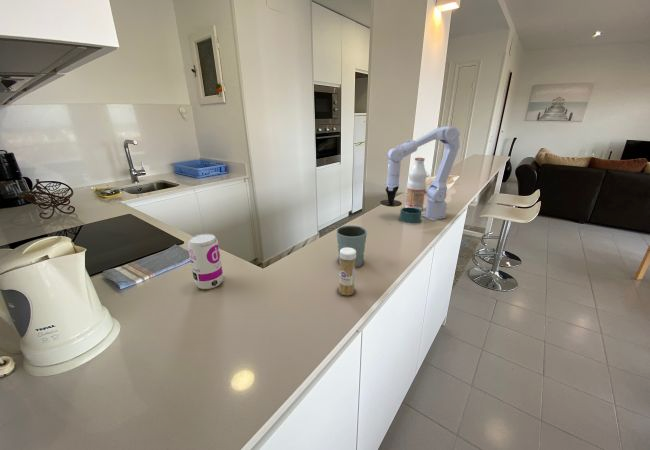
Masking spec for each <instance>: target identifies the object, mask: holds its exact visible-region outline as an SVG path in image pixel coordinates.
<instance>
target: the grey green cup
mask: <svg viewBox="0 0 650 450" xmlns="http://www.w3.org/2000/svg"><path fill="white" fill-rule="evenodd" d="M367 234H368V231H367V229H365V228H364V227H362V226H359V225H342V226H340V227H338V228H337V229H336V241H337V252H338V262H339V264H340V250H341V249H342V248H353V249H355V250H356V259H355V268H359V267H361V266H362V265H363V264H364V258H365V250H366V242H367V241H366V240H367V236H368V235H367Z"/></svg>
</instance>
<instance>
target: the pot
mask: <svg viewBox="0 0 650 450" xmlns="http://www.w3.org/2000/svg"><path fill="white" fill-rule="evenodd" d="M399 211H400V213H399V221H401V222H403V223H406V224H418V223H420V222H421V219H422V212H423V211H422V210H419V209H417V208H410V207H406V208H405V207H402V208H400V210H399Z"/></svg>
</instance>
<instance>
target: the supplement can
mask: <svg viewBox="0 0 650 450" xmlns="http://www.w3.org/2000/svg"><path fill="white" fill-rule="evenodd" d="M187 252H188V258H189V262H190V266H191V271H192V277H193V281H194V286H196V287H197V288H199V289H200V290H211V289H214V288H216V287H218V286H220V285H221V284H222V282H223V281H224V274H223V273H224V271H223V266H222V265H223V264H222V259H221V253H220V247H219V240H218V239H217V237H216V236H215V234H212V233H199V234H196V235H193V236H191V237H190V238H189V239H188V243H187Z"/></svg>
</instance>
